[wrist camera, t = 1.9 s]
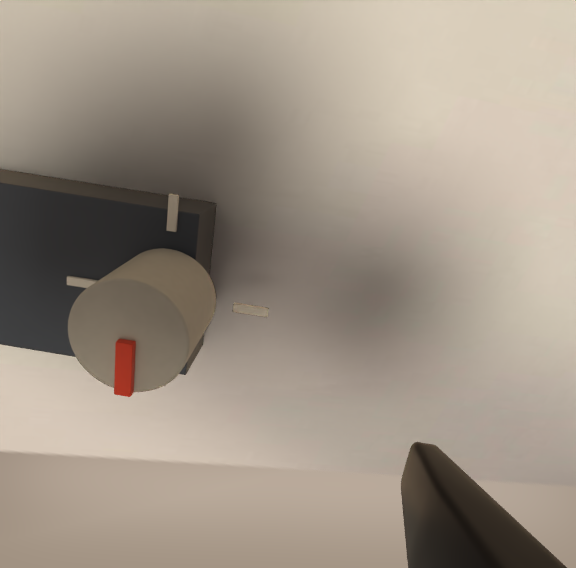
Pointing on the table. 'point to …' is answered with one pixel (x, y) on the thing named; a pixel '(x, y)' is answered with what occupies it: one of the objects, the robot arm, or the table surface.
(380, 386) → the table surface
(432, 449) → the robot arm
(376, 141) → the table surface
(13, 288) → the control panel
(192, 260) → the dial
